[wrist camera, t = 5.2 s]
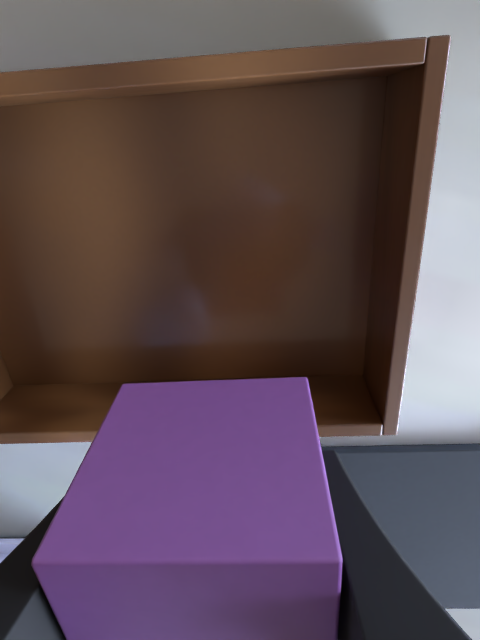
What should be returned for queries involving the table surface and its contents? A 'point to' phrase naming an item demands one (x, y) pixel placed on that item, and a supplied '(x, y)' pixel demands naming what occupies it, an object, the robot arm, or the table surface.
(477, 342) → the table surface
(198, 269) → the brown wooden tray
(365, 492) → the mat
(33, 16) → the table surface
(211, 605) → the block
